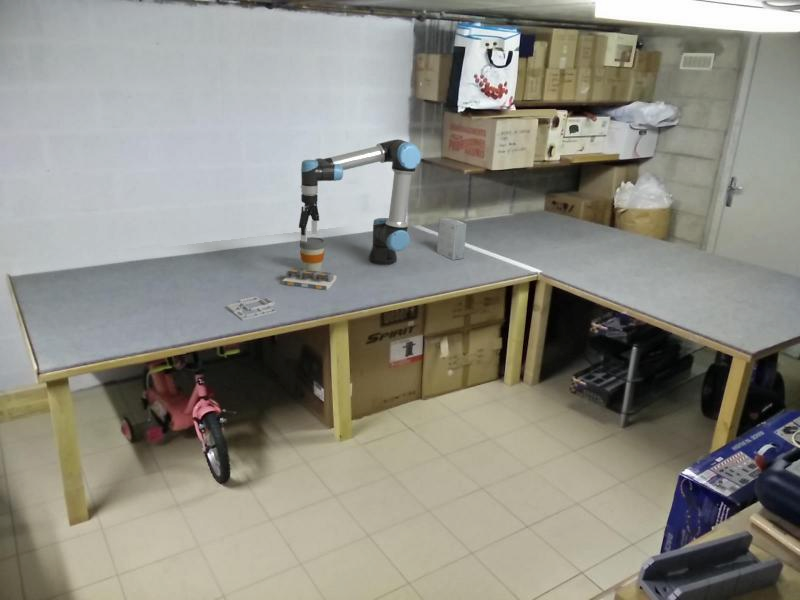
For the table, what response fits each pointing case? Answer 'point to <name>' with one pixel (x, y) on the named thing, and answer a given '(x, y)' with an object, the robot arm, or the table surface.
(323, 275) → the rocker
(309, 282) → the switch unit
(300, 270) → the rocker
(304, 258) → the reusable coffee cup
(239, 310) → the floor plan model
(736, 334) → the table surface
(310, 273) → the rocker middle
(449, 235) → the hard drive box
